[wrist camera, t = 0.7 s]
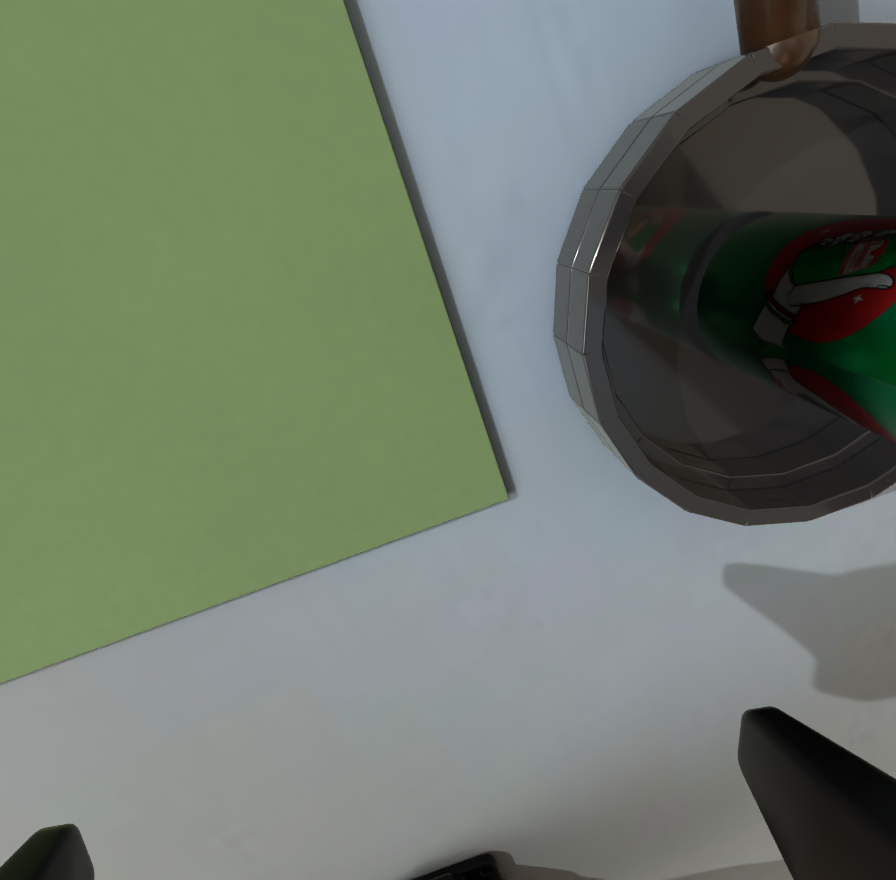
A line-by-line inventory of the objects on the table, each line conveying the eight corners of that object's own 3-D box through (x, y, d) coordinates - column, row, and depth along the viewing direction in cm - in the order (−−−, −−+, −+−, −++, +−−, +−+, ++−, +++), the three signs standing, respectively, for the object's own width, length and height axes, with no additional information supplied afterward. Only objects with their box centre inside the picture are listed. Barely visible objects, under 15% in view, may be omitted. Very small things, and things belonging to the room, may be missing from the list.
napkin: (507, 495, 23) (509, 498, 22) (-24, 687, 23) (-28, 693, 22) (272, -211, 15) (270, -219, 15) (-524, 74, 15) (-540, 72, 15)
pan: (957, 407, 24) (1041, 437, 21) (605, 535, 24) (640, 583, 21) (950, -20, 19) (1062, -61, 16) (499, 143, 19) (526, 132, 16)
